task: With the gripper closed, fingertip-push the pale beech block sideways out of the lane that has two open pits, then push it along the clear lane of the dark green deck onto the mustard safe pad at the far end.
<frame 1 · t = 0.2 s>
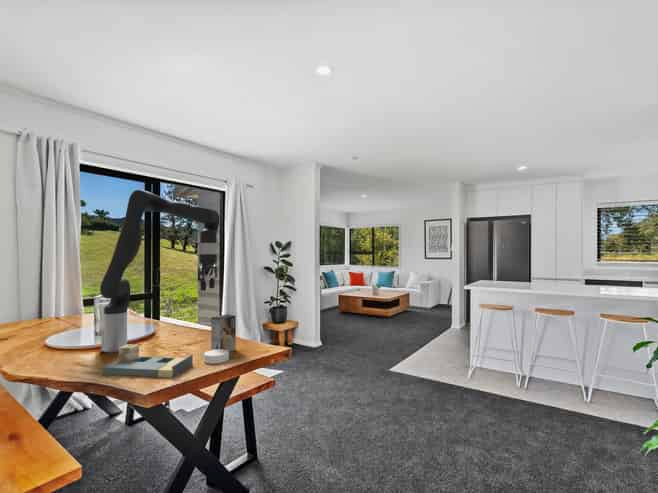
hand: (207, 289, 155), 29 cm above the table, fingers open, 8 cm apart
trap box: (149, 369, 135), on the table
block: (128, 358, 140), point 2 cm above the table, touching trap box
coffee box: (223, 351, 159), on the table
white ridged round container: (216, 360, 147), on the table
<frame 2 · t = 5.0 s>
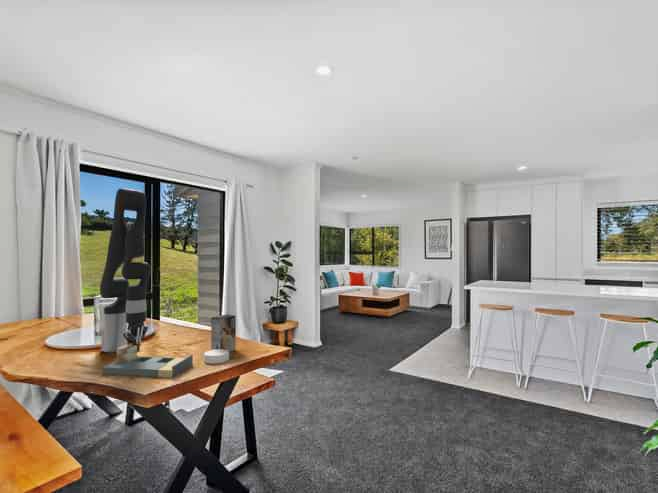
hand: (135, 352, 144), 4 cm above the table, fingers closed
block: (127, 359, 139), point 3 cm above the table, touching gripper
everything else where it was.
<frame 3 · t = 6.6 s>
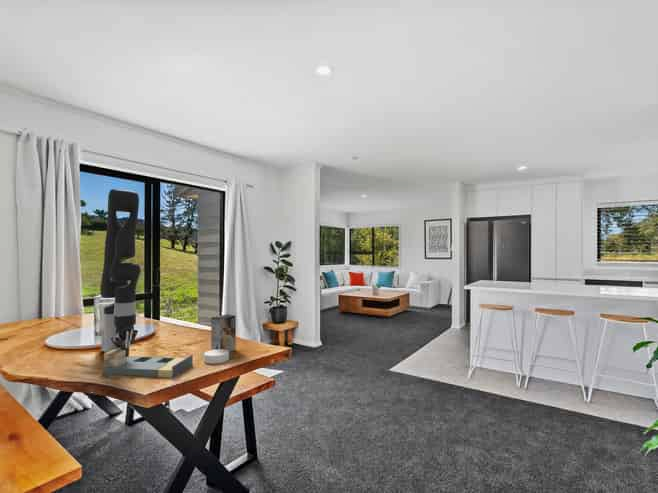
hand: (124, 357, 137), 4 cm above the table, fingers closed
block: (115, 364, 132), point 2 cm above the table, touching gripper, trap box
everything else where it was.
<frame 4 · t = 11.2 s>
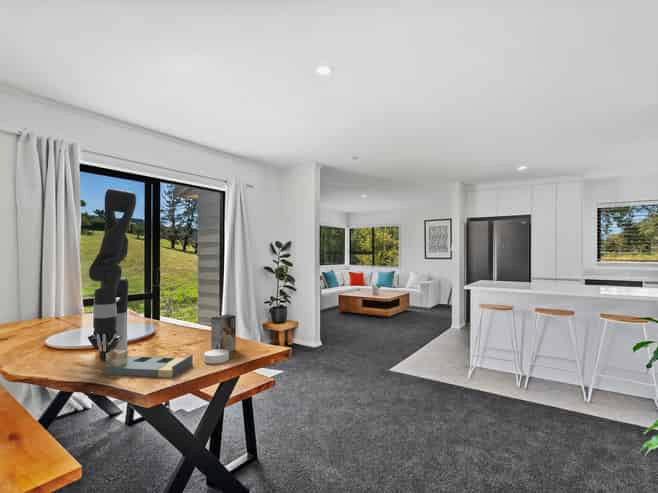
hand: (104, 360, 133), 4 cm above the table, fingers closed
block: (116, 364, 132), point 3 cm above the table, touching gripper
everything else where it was.
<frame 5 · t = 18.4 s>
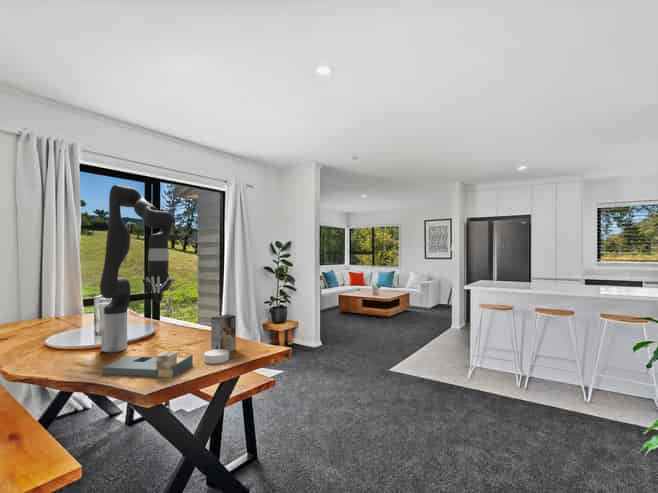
hand: (158, 301, 142), 25 cm above the table, fingers closed
block: (166, 367, 130), point 2 cm above the table, touching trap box
everything else where it was.
at the end: block inside the target area on the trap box (0.8 cm from its centre), point 2.5 cm above the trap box's base; block tilted 0° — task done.
